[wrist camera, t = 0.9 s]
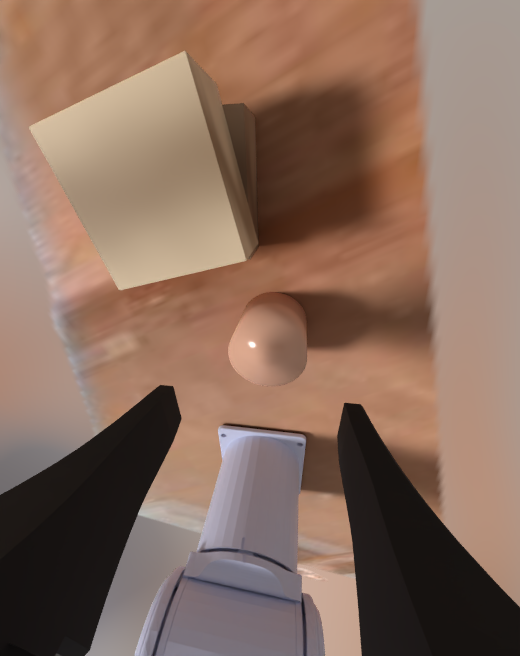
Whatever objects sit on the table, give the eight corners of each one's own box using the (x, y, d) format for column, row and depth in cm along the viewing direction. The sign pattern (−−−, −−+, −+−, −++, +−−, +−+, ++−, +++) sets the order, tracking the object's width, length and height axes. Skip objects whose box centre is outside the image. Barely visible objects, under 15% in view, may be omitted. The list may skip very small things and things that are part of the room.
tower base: (259, 245, 15) (250, 259, 13) (165, 244, 16) (140, 257, 14) (256, 118, 12) (243, 103, 10) (141, 124, 13) (102, 113, 11)
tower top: (258, 243, 12) (246, 260, 10) (153, 269, 14) (119, 290, 11) (216, 83, 10) (185, 50, 7) (91, 138, 11) (28, 127, 9)
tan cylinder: (304, 350, 18) (304, 389, 15) (244, 346, 19) (231, 382, 16) (309, 293, 16) (310, 324, 13) (241, 290, 17) (225, 319, 13)
